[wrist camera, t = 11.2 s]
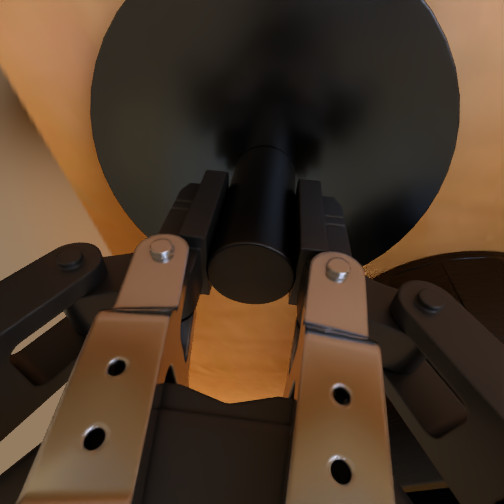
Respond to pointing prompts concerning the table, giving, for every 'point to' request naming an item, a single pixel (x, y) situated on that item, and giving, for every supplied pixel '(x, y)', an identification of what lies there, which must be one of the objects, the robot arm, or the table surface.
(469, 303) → the pot
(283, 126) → the lid
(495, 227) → the table surface
